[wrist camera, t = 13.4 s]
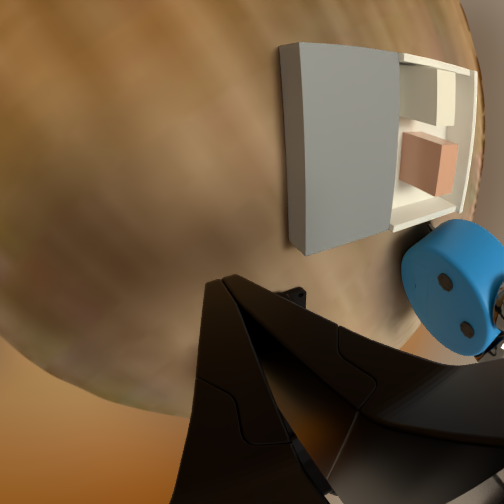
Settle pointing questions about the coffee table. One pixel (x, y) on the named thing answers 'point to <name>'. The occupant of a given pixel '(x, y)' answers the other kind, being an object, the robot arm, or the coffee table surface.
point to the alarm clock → (459, 288)
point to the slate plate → (339, 142)
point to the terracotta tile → (428, 162)
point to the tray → (411, 198)
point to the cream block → (427, 95)
